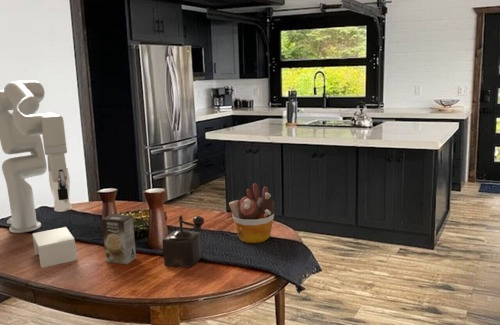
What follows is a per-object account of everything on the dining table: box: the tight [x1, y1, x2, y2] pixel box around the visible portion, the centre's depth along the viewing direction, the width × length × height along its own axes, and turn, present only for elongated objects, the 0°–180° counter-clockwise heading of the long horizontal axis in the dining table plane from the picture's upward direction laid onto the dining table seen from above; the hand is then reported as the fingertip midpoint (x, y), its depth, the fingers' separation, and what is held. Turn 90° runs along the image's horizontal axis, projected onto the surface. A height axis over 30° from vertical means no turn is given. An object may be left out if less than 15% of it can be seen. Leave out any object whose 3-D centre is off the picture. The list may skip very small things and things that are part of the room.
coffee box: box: [101, 213, 137, 265], centre depth 173 cm, size 9×6×16 cm
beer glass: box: [48, 167, 72, 212], centre depth 179 cm, size 7×7×15 cm
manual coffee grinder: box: [161, 215, 205, 268], centre depth 168 cm, size 16×11×18 cm
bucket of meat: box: [228, 182, 275, 244], centre depth 188 cm, size 20×16×20 cm
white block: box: [31, 226, 78, 269], centre depth 179 cm, size 16×12×8 cm
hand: (61, 197), depth 179 cm, fingers closed on beer glass, 6 cm apart
